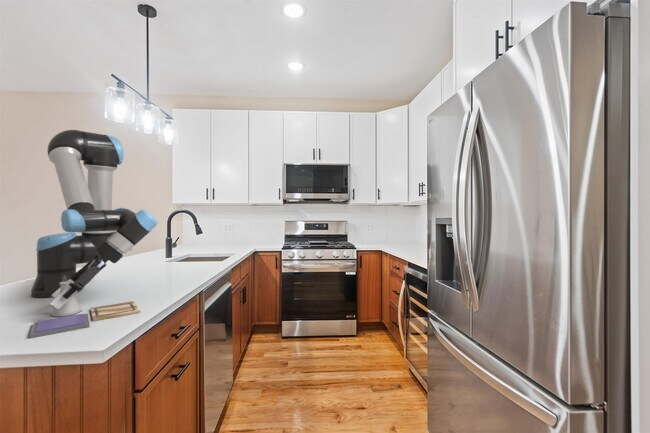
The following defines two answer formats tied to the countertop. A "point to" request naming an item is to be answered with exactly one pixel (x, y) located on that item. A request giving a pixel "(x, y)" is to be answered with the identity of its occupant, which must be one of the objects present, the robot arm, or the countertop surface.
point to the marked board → (114, 311)
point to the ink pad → (59, 325)
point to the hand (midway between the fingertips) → (54, 301)
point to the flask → (66, 304)
